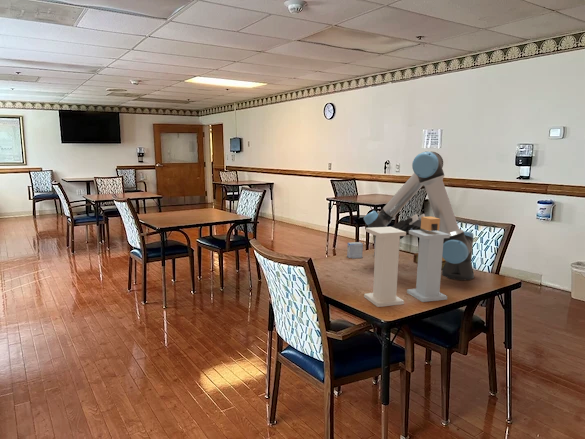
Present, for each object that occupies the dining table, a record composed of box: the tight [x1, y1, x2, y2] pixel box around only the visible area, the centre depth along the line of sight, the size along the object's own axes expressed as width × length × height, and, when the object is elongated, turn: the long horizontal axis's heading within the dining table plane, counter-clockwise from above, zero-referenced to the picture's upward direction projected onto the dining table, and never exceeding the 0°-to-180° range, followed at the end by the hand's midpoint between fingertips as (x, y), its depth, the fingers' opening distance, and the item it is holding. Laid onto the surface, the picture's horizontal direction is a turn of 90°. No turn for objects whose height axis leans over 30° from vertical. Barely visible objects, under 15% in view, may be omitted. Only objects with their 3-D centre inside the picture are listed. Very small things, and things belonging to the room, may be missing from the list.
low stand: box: [406, 229, 450, 303], centre depth 186 cm, size 12×14×28 cm
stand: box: [363, 226, 407, 308], centre depth 179 cm, size 12×14×30 cm
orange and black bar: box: [407, 216, 440, 231], centre depth 189 cm, size 5×18×5 cm, turn 18°
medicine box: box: [346, 241, 364, 259], centre depth 250 cm, size 8×4×9 cm, turn 104°
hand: (420, 216), depth 190 cm, fingers closed on orange and black bar, 3 cm apart
